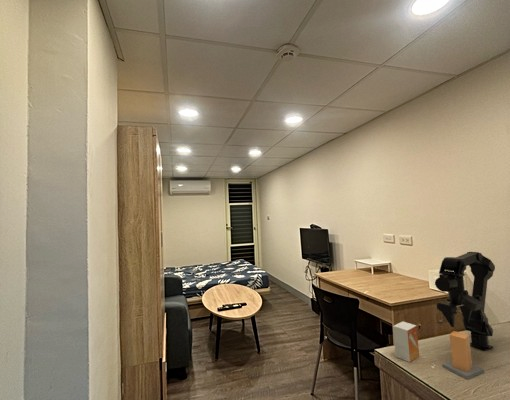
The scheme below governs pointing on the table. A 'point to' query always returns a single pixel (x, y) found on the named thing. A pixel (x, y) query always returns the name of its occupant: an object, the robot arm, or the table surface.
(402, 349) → the small box
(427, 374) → the table surface
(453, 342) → the orange block on stand
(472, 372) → the plate
